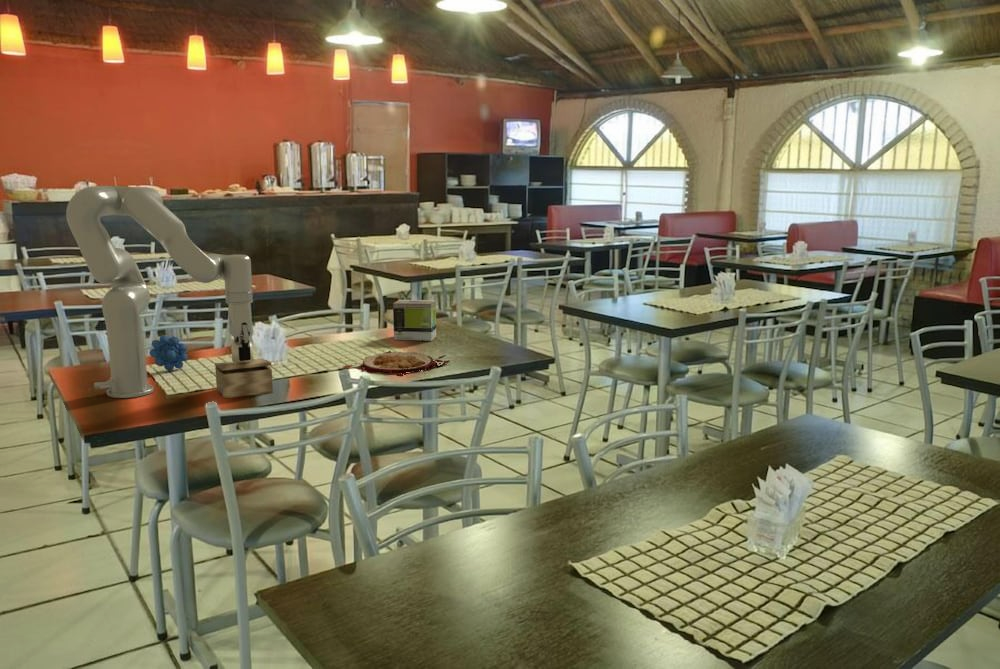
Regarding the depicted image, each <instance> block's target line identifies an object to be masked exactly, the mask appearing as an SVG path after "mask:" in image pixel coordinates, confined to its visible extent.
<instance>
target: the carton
mask: <svg viewBox="0 0 1000 669" xmlns="http://www.w3.org/2000/svg"><path fill="white" fill-rule="evenodd" d="M214 368H215V382H216V383H215V384H216V390H217V392H219V394H220V395H221V397H222V398H223V399H228V398H229V399H230V398H239V397H245V396H254V395H262V394H270V393H274V391H273V390H274V387H273V369H272V368H271V367H270V366H260V367H250V368H241V369H232V370H223V371H222V370H221V369H219V368H218V367H216V366H215V367H214Z"/></svg>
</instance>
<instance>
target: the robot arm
mask: <svg viewBox="0 0 1000 669" xmlns="http://www.w3.org/2000/svg"><path fill="white" fill-rule="evenodd" d="M65 215H66V221H67V225H68V227H69V230H70V232H71V233H72V236H73V238H74V239H75V241H76V245H77V246H78V248H79V251H80V253H81V255H82V257H83V259H84V261H85V264H86V267H87V268H88V270H89V273H90V274H91V277H92V278H93V279H94V280H95V281H96V282H98V283H100V284H105V285H108V284H109V285H110V286H111V289H109V290H108V291H107V292H106V293H105V294H104V296H103V298H102V301H101V302H102V303H101V309H102V315H103V319H104V323H105V328H106V337H107V346H108V354H109V355H108V356H109V357H108V358H109V367H110V376H111V377H109V380H105V381H102V382H101V381H99V382H93V385H94V386H93V387H94V390H100V391H101V390H102V391H103V390H106V395H107V396H108V397H109V398H115V399H129V398H137V397H143V396H147V395H149V394H152V393H153V392H154V391H155V390H154V386H153V385H152V384H149V383H148V373H147V362H146V350H145V349H146V348H145V338H144V337H145V336H144V327H143V324H142V320H141V315H140V313H142V312H143V311H145V310H146V309H147V308H148V307H149V305H150V302H151V295H150V291H149V288H148V286H147V284H146V281H145V280H144V277H143V275H142V272H141V270H140V269H139V268H140V267H139V266H138V263H137V262H136V260H135V258H134V256H132V255H131V254H130V253H129V252H128V250H125V249H124V248H121V247H115V245H114V243H113V241H112V239H111V237H110V235H109V233H108V230H107V229H106V227H105V226H104V225H103V224H102V222H101V218H102V217H107V216H108V217H109V216H123V217H125V216H126V217H128V216H129V217H131V218H132V219H133V220H134V221H135V222H136V223H137V224H138V225H140V226H141V227H142V228H143V229H144V230H146V231H147V232H148V234H150V235H151V236H152V237H153V238H154V239H155V240H157V241H158V243H160V244H161V245H162V247H163V250H165V252H166V253H167V254H168V255H169V256H170V258H171V259H172V261H174V262H175V264H177V265H178V267H180V268H181V269H182V270H183V271H184V272H185V273H186V274H188V275H189V276H190V277H191V278H192V279H194V281H197V282H198V283H203V284H209V283H212V282H213V281H216V280H219V279H223V280H224V290H225V291H224V293H225V304H227V305H228V308H227V309H228V310H227V311H228V312H227V314H228V318H227V319H228V320H227V321H228V333H229V334H230V335H231V336H232V337H233V343H234V342H239V346H240V347H238V348H239V360H240V361H245V360H250V359H251V354H250V342H251V341H250V337H251V336H252V331H253V330H252V328H253V327H252V316H251V304H252V303H253V302H254V299H253V297H254V296H253V280H252V279H253V278H252V261H251V260H252V259H251V258H250V256H249V255H247V254H221V253H220V254H218V253H207V254H206V253H205V252H204V251H202V250H201V249H200V248H199V247H198V246H197V245H196V244H195V243H194V242H193V241H192V240H191V238H190V236H188V233H187V231H186V230H187V229H186V226H185V223H183V221H182V220H181V219H180V218H179V217H178V216H176V215H175V214H174V213H173V212H172V211H171V210H170V209H169V208H168V207H167V206H165V205H164V201H163V197H162V195H161V194H160V193H159V191H158V190H156V189H154V188H153V187H147V186H140V187H139V186H120V185H119V186H116V185H93V186H87V187H84V188H82V189H80V190H78V191H76V193H75V194H74V195H73V196H72V197H71V198H70V199H69V202H68V203H67V206H66V212H65Z"/></svg>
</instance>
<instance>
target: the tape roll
mask: <svg viewBox="0 0 1000 669" xmlns="http://www.w3.org/2000/svg"><path fill="white" fill-rule="evenodd" d="M249 342H250V354H251V359H250V360H245V361H240V360H239V348H238V347H240V346H239V342H234V341H233V342H231V344H230V345H231V346H230V347H231V349H230V350H231V360H232V361H231V362H249V361H252V360H253V359H254V344H253V342H252V341H249Z"/></svg>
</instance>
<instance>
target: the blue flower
mask: <svg viewBox="0 0 1000 669" xmlns="http://www.w3.org/2000/svg"><path fill="white" fill-rule="evenodd" d="M151 346H152V347H153V348H151V349H150V351H149V354H150V356H151V357H152V358H154V364H155V365H156V366H157V367H164V369H165V370H167V371H169V372H170V371H172V370H174V368H175V369H178V370H179V369H182V368H183V367H184V362H186V361H188V360H189V356H188V354H187V353H186V352H187V349H188V347H187V345H186V344H185V343H182V342H181V343H180V339H179V338H178V337H177V336H175V335H174V336H171V337H169V336H168V335H167V334H162V335H160V336H159V340H158V339H153V340H152V341H151Z"/></svg>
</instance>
